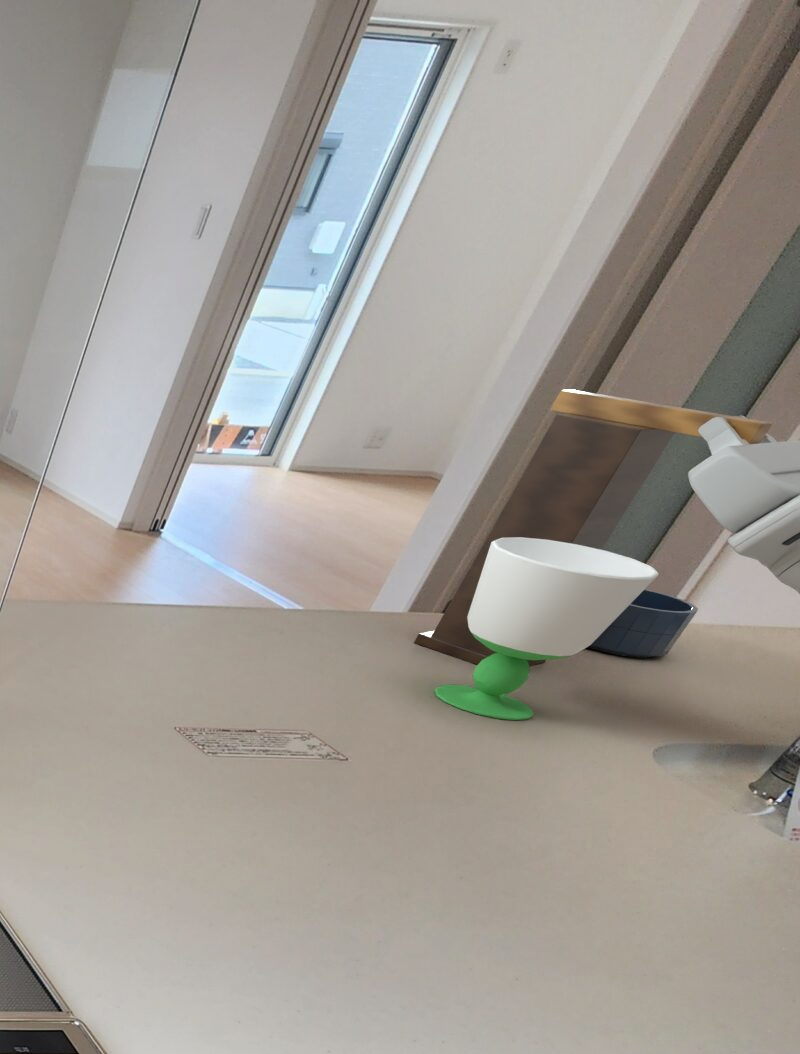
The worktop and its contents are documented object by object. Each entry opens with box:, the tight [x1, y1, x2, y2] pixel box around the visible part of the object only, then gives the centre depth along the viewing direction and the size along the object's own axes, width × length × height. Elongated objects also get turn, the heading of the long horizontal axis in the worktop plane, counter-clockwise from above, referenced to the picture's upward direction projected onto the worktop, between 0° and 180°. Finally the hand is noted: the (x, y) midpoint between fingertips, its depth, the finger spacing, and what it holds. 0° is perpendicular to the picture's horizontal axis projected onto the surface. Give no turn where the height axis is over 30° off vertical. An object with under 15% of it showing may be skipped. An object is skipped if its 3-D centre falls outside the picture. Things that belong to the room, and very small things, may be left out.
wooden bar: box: [550, 389, 774, 444], centre depth 116 cm, size 18×2×2 cm, turn 26°
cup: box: [434, 537, 659, 721], centre depth 115 cm, size 14×14×16 cm
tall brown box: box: [413, 413, 676, 667], centre depth 126 cm, size 10×10×26 cm
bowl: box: [587, 588, 699, 659], centre depth 138 cm, size 11×11×6 cm
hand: (718, 421), depth 112 cm, fingers closed on wooden bar, 2 cm apart
